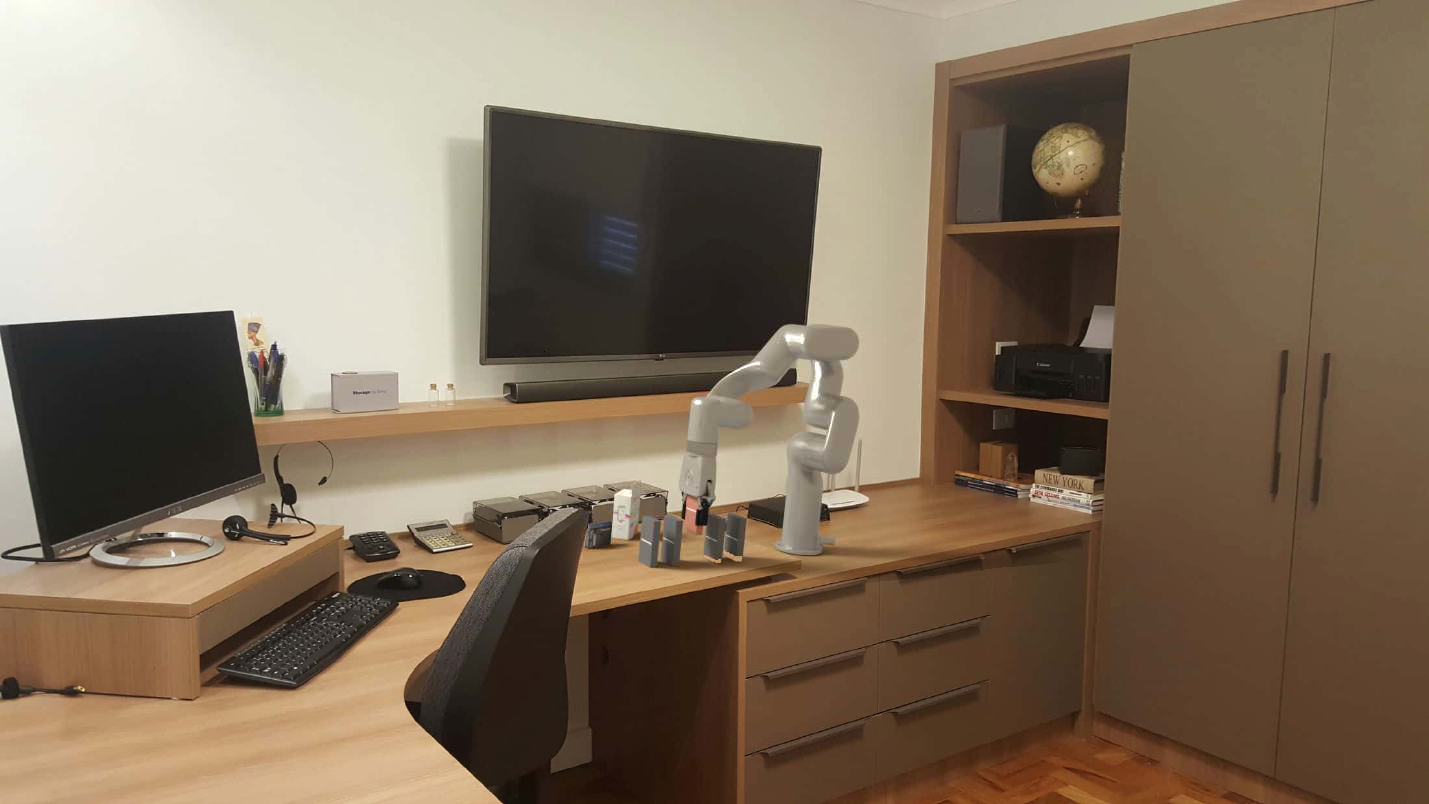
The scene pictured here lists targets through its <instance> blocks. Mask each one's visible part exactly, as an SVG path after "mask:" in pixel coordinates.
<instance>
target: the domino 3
mask: <svg viewBox="0 0 1429 804" xmlns="http://www.w3.org/2000/svg"><path fill="white" fill-rule="evenodd" d="M702 496H706V494H703V495H702ZM705 500H706V499H702V503H703V502H704V501H705ZM697 509H698V498H696V497H693V496H690V495H687V500H686V511H685V519H684V520H683V530H684V531H686V532H688V533H691V534H692V535H694V536H703V533H704V531H703V530H704V526H696V525H695V519H696V510H697Z"/></svg>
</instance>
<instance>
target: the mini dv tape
mask: <svg viewBox="0 0 1429 804" xmlns="http://www.w3.org/2000/svg"><path fill="white" fill-rule="evenodd" d="M587 524H588V529H587V536H586V540H585V547H584V546H583V549H588V550H589V549H590V550H591V549H594V548H600V547H604V546H606V547H607V546H610V545H612V538H611V536H612V524H613V520H612V521H611V520H602V521H596V522H595V521H594V522H590V523H587Z"/></svg>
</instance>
